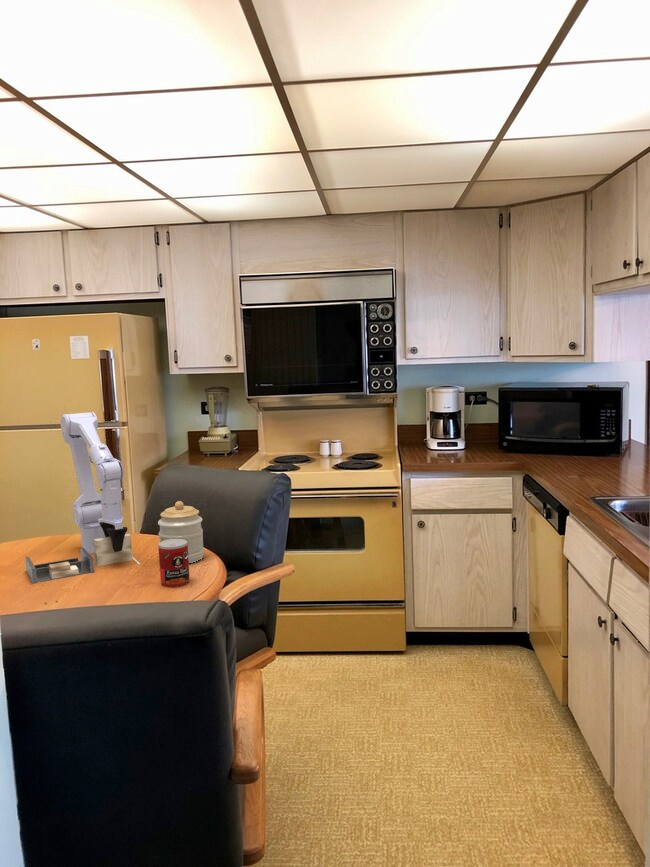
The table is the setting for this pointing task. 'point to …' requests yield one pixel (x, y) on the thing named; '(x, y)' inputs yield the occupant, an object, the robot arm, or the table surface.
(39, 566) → the rack
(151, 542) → the table surface
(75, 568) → the offcut lower
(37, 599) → the table surface
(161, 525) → the jar
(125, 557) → the wooden block
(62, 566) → the offcut upper
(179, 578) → the canned food
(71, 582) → the table surface
